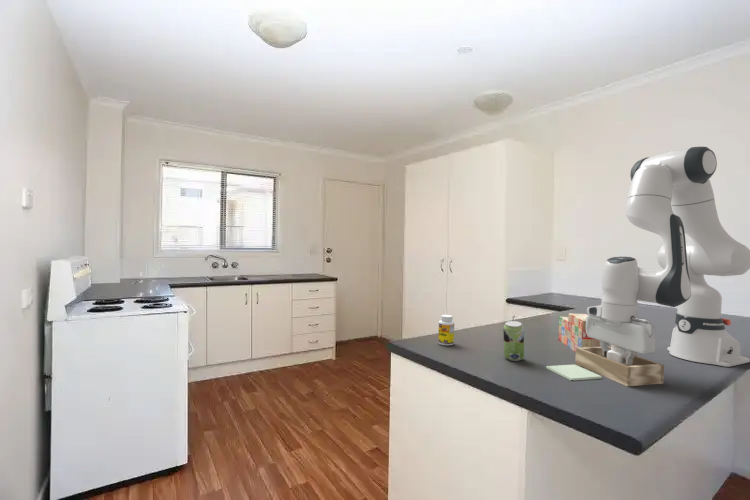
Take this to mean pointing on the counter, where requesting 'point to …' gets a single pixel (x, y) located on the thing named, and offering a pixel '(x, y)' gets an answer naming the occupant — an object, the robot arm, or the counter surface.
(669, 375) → the counter surface
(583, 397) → the counter surface
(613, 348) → the salt shaker
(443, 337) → the supplement bottle
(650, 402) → the counter surface
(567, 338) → the stack of blocks
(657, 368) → the open wooden box
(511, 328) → the beverage can
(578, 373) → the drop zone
